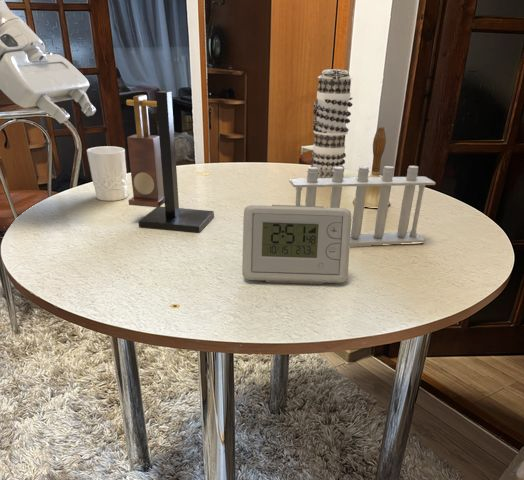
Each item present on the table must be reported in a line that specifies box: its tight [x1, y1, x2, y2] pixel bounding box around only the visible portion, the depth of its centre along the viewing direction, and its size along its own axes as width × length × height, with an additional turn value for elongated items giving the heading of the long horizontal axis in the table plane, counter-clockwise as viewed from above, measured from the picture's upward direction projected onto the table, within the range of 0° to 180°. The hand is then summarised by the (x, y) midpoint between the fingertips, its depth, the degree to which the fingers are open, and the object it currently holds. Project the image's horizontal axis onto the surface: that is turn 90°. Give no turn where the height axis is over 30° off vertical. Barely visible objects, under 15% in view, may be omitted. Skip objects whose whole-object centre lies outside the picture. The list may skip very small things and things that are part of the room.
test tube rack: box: [288, 165, 437, 248], centre depth 90 cm, size 25×4×13 cm, turn 99°
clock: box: [126, 94, 165, 208], centre depth 94 cm, size 6×5×19 cm
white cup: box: [86, 145, 128, 202], centre depth 112 cm, size 8×8×10 cm
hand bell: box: [352, 126, 391, 207], centre depth 110 cm, size 8×8×16 cm
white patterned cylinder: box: [310, 68, 354, 178], centre depth 123 cm, size 9×9×25 cm
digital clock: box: [241, 204, 352, 285], centre depth 77 cm, size 16×9×11 cm, turn 77°
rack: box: [125, 90, 215, 234], centre depth 95 cm, size 14×10×23 cm
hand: (79, 116), depth 93 cm, fingers open, 8 cm apart
